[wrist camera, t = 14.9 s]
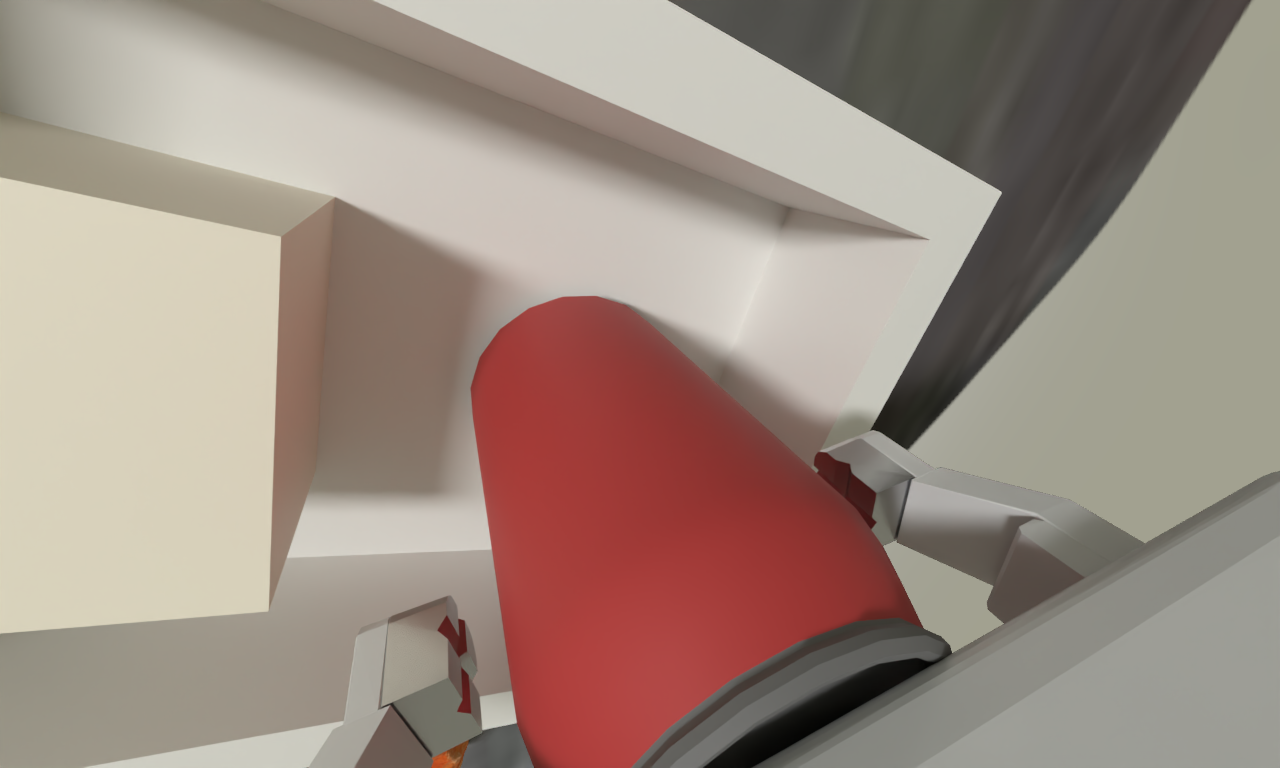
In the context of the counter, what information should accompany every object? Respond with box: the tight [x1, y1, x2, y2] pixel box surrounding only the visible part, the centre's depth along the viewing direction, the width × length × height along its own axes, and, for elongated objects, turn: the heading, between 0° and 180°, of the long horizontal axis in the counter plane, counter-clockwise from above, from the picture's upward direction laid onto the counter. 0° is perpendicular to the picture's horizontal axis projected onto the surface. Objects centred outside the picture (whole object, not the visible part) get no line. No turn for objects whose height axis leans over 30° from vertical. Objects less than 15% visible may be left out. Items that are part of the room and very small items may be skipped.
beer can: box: [470, 296, 952, 768], centre depth 11 cm, size 7×7×12 cm
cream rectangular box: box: [0, 112, 335, 634], centre depth 9 cm, size 8×8×5 cm
